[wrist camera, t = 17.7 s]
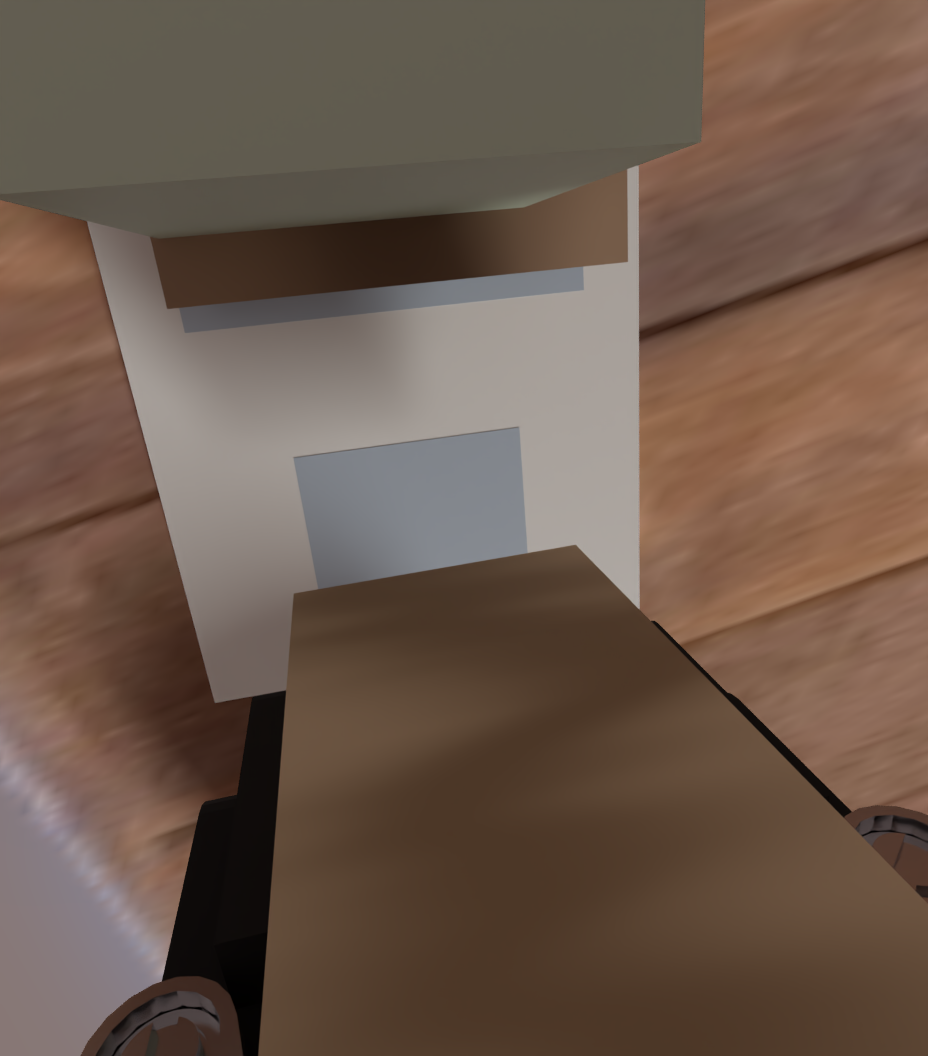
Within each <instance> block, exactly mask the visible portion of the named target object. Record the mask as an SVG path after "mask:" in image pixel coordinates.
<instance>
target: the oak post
mask: <svg viewBox="0 0 928 1056" xmlns="http://www.w3.org/2000/svg"><path fill="white" fill-rule="evenodd" d="M258 1056H928V903H927V902H926V901H925V900H924V899H923V898H922V897H921V896H920V895H919V894H918V893H917V892H916V891H915V890H914V889H913V888H912V887H911V886H910V885H909V884H908V883H907V882H906V881H905V880H904V879H903V878H902V877H901V876H900V875H899V874H898V873H897V872H896V871H895V870H894V869H893V868H892V867H891V866H890V865H889V864H888V863H887V862H886V861H885V860H884V859H883V858H882V857H881V855H880V854H879V853H878V852H877V851H876V850H875V849H874V848H873V847H872V846H871V845H870V844H869V843H868V842H867V841H866V840H865V839H864V838H863V837H862V836H861V835H860V834H859V833H858V832H857V831H856V830H855V829H854V828H853V827H852V826H851V825H850V824H849V823H848V822H847V821H846V820H845V819H844V818H843V817H842V816H841V815H840V814H839V813H838V812H837V811H836V810H835V809H834V808H833V807H832V806H831V804H830V803H829V802H828V801H827V800H826V799H825V798H824V797H823V796H822V795H821V794H820V793H819V792H818V791H817V790H816V789H815V788H814V787H813V786H812V785H811V784H810V783H809V782H808V781H807V780H806V779H805V778H804V777H803V776H802V775H801V774H800V773H799V772H798V771H797V770H796V769H795V768H794V767H793V766H792V765H791V764H790V763H789V762H788V761H787V760H786V759H785V758H784V757H783V756H782V755H781V753H780V752H779V751H778V750H777V749H776V748H775V747H774V746H773V745H772V744H771V743H770V742H769V741H768V740H767V739H766V738H765V737H764V736H763V735H762V734H761V733H760V732H759V731H758V730H757V729H756V728H755V727H754V726H753V725H752V724H751V723H750V722H749V721H748V720H747V719H746V718H745V717H744V716H743V715H742V714H741V713H740V712H739V711H738V710H737V709H736V708H735V707H734V706H733V705H732V704H731V702H730V701H729V700H728V699H727V698H726V697H725V696H724V695H723V694H722V693H721V692H720V691H719V690H718V689H717V688H716V687H715V686H714V685H713V684H712V683H711V682H710V681H709V680H708V679H707V678H706V677H705V676H704V675H703V674H702V673H701V672H700V671H699V670H698V669H697V668H696V667H695V666H694V665H693V664H692V663H691V662H690V661H689V660H688V659H687V658H686V657H685V656H684V655H683V654H682V653H681V651H680V650H679V649H678V648H677V647H676V646H675V645H674V644H673V643H672V642H671V641H670V640H669V639H668V638H667V637H666V636H665V635H664V634H663V633H662V632H661V631H660V630H659V629H658V628H657V627H656V626H655V625H654V624H653V623H652V622H651V621H650V620H649V619H648V618H647V617H646V616H645V615H644V614H643V613H642V612H641V611H640V610H639V609H638V608H637V607H636V606H635V605H634V604H633V603H632V602H631V601H630V599H629V598H628V597H627V596H626V595H625V594H624V593H623V592H622V591H621V590H620V589H619V588H618V587H617V586H616V585H615V584H614V583H613V582H612V581H611V580H610V579H609V578H608V577H607V576H606V575H605V574H604V573H603V572H602V571H601V570H600V569H599V568H598V567H597V566H596V565H595V564H594V563H593V562H592V561H591V560H590V559H589V558H588V557H587V556H586V555H585V554H584V553H583V552H582V551H581V550H580V548H579V547H578V546H577V545H571V546H565V547H560V548H554V549H548V550H542V551H536V552H531V553H525V554H519V555H513V556H507V557H502V558H496V559H490V560H484V561H479V562H473V563H467V564H461V565H455V566H450V567H444V568H438V569H432V570H426V571H421V572H415V573H409V574H403V575H398V576H392V577H386V578H380V579H374V580H369V581H363V582H357V583H351V584H346V585H340V586H334V587H328V588H322V589H317V590H311V591H305V592H299V593H294V596H293V609H292V622H291V635H290V648H289V661H288V674H287V687H286V700H285V713H284V726H283V739H282V752H281V765H280V778H279V791H278V805H277V818H276V831H275V844H274V857H273V870H272V883H271V896H270V909H269V922H268V935H267V948H266V961H265V974H264V987H263V1000H262V1013H261V1027H260V1040H259V1053H258Z"/></svg>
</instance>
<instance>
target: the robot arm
mask: <svg viewBox="0 0 928 1056" xmlns="http://www.w3.org/2000/svg"><path fill="white" fill-rule="evenodd" d="M651 622H652V623H653V624H654V625H655V626H656V627H657V628H658V629H659V630H660V631H661V632H662V633H663V634H664V635H665V636H666V637H667V638H668V639H669V640H670V641H671V642H672V643H673V644H674V645H675V646H676V647H677V648H678V649H679V650H680V651H681V653H682V654H683V655H684V656H685V657H686V658H687V659H688V660H689V661H690V662H691V663H692V664H693V665H694V666H695V667H696V668H697V669H698V670H699V671H700V672H701V673H702V674H703V675H704V676H705V677H706V678H707V679H708V680H709V681H710V682H711V683H712V684H713V685H714V686H715V687H716V688H717V689H718V690H719V691H720V692H721V693H722V694H723V695H724V696H725V697H726V698H727V699H728V700H729V701H730V702H731V704H732V705H733V706H734V707H735V708H736V709H737V710H738V711H739V712H740V713H741V714H742V715H743V716H744V717H745V718H746V719H747V720H748V721H749V722H750V723H751V724H752V725H753V726H754V727H755V728H756V729H757V730H758V731H759V732H760V733H761V734H762V735H763V736H764V737H765V738H766V739H767V740H768V741H769V742H770V743H771V744H772V745H773V746H774V747H775V748H776V749H777V750H778V751H779V752H780V753H781V755H782V756H783V757H784V758H785V759H786V760H787V761H788V762H789V763H790V764H791V765H792V766H793V767H794V768H795V769H796V770H797V771H798V772H799V773H800V774H801V775H802V776H803V777H804V778H805V779H806V780H807V781H808V782H809V783H810V784H811V785H812V786H813V787H814V788H815V789H816V790H817V791H818V792H819V793H820V794H821V795H822V796H823V797H824V798H825V799H826V800H827V801H828V802H829V803H830V804H831V806H832V807H833V808H834V809H835V810H836V811H837V812H838V813H839V814H840V815H841V816H842V817H843V818H844V819H845V820H846V821H847V822H848V823H849V824H850V825H851V826H852V827H853V828H854V829H855V830H856V831H857V832H858V833H859V834H860V835H861V836H862V837H863V838H864V839H865V840H866V841H867V842H868V843H869V844H870V845H871V846H872V847H873V848H874V849H875V850H876V851H877V852H878V853H879V854H880V855H881V857H882V858H883V859H884V860H885V861H886V862H887V863H888V864H889V865H890V866H891V867H892V868H893V869H894V870H895V871H896V872H897V873H898V874H899V875H900V876H901V877H902V878H903V879H904V880H905V881H906V882H907V883H908V884H909V885H910V886H911V887H912V888H913V889H914V890H915V891H916V892H917V893H918V894H919V895H920V896H921V897H922V898H923V899H924V900H925V901H926V902H927V903H928V815H926V814H923V813H921V812H917V811H913V810H909V809H905V808H901V807H897V806H880V805H875V806H870V807H864V808H859V809H857V810H855V811H853V812H852V811H851V810H850V809H849V808H848V807H847V806H846V805H845V804H844V803H843V802H842V801H841V800H840V799H839V798H837V797H836V796H835V795H834V794H833V793H832V792H831V791H830V790H829V789H828V788H827V787H826V786H825V785H824V784H823V783H822V782H821V781H820V780H819V779H818V778H817V777H816V776H815V775H814V774H813V773H812V772H811V771H810V770H809V769H808V768H807V767H806V766H805V765H804V764H803V763H802V762H801V761H800V760H799V759H798V758H797V757H796V756H795V755H794V754H793V753H792V752H791V751H790V750H789V749H788V748H787V747H786V746H785V745H784V744H783V743H782V742H781V741H780V740H779V739H778V738H777V737H776V736H775V735H774V734H773V733H772V732H771V731H770V730H769V729H768V728H767V727H766V726H765V725H764V724H763V723H762V722H761V721H760V720H759V719H758V718H757V717H756V716H755V715H754V714H753V713H752V712H751V711H750V710H749V709H748V708H747V707H746V706H745V705H744V704H743V703H742V702H741V701H740V700H739V699H738V698H736V697H735V696H734V695H732V694H730V693H727V692H726V691H725V690H724V689H723V688H722V687H721V686H720V685H719V684H718V683H717V682H716V681H715V680H714V679H713V678H712V677H711V676H710V675H709V674H708V673H707V672H706V671H705V670H704V669H703V668H702V667H701V666H700V665H699V664H698V663H697V662H696V661H695V660H694V659H693V658H692V657H691V656H690V655H689V654H688V653H687V652H686V651H685V650H684V649H683V648H682V647H681V646H680V645H679V644H678V643H677V642H676V641H675V640H674V639H673V638H672V637H671V636H670V635H669V634H668V633H667V632H666V631H665V630H664V629H663V628H662V627H661V626H660V625H659V624H658V623H657V622H655V621H651ZM285 700H286V690H284V691H279V692H274V693H269V694H263V695H258V696H254V697H253V698H252V702H251V709H250V715H249V722H248V728H247V735H246V741H245V748H244V754H243V761H242V767H241V773H240V780H239V786H238V793H237V795H234V796H230V797H225V798H220V799H215V800H211V801H206V802H205V803H204V804H203V805H202V807H201V810H200V813H199V816H198V821H197V825H196V830H195V834H194V839H193V843H192V848H191V852H190V857H189V861H188V866H187V870H186V875H185V880H184V884H183V889H182V893H181V898H180V902H179V907H178V911H177V916H176V920H175V925H174V929H173V934H172V938H171V943H170V947H169V952H168V956H167V961H166V965H165V970H164V975H163V979H162V982H159V983H156V984H153V985H151V986H150V987H148V988H146V989H145V990H143V991H141V992H139V993H138V994H136V995H134V996H132V997H131V998H129V999H128V1000H127V1001H126V1002H124V1003H123V1005H121V1006H120V1007H119V1008H117V1009H116V1010H115V1011H114V1012H113V1013H112V1014H110V1015H109V1016H108V1017H107V1018H106V1020H105V1021H104V1022H103V1023H102V1025H101V1026H100V1027H99V1028H98V1029H97V1031H96V1032H95V1033H94V1035H93V1036H92V1037H91V1038H90V1039H89V1041H88V1042H87V1044H86V1046H85V1048H84V1050H83V1052H82V1054H81V1056H258V1053H259V1040H260V1027H261V1013H262V1000H263V987H264V974H265V961H266V948H267V935H268V922H269V909H270V896H271V883H272V870H273V857H274V844H275V831H276V818H277V805H278V791H279V778H280V765H281V752H282V739H283V726H284V713H285Z"/></svg>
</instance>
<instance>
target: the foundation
mask: <svg viewBox="0 0 928 1056" xmlns="http://www.w3.org/2000/svg"><path fill="white" fill-rule="evenodd" d="M150 239H151V243H152V247H153V251H154V256H155V260H156V264H157V268H158V273H159V277H160V281H161V285H162V289H163V294H164V298H165V302H166V306H167V309H174V308H184V307H193V306H203V305H213V304H223V303H232V302H242V301H252V300H262V299H271V298H281V297H291V296H301V295H311V294H320V293H330V292H340V291H350V290H359V289H369V288H379V287H389V286H399V285H408V284H418V283H428V282H438V281H447V280H457V279H467V278H477V277H486V276H496V275H506V274H516V273H526V272H535V271H545V270H555V269H565V268H574V267H584V266H594V265H604V264H614V263H623V262H628V199H627V169H626V170H624V171H621V172H618V173H615V174H613V175H610V176H607V177H605V178H602V179H599V180H597V181H594V182H591V183H588V184H586V185H583V186H580V187H578V188H575V189H572V190H570V191H567V192H564V193H561V194H559V195H556V196H553V197H551V198H548V199H545V200H542V201H540V202H537V203H534V204H532V205H529V206H526V207H522V208H511V209H499V210H487V211H476V212H464V213H453V214H441V215H429V216H418V217H406V218H394V219H383V220H371V221H360V222H348V223H336V224H325V225H313V226H301V227H290V228H278V229H266V230H255V231H243V232H232V233H220V234H208V235H197V236H185V237H173V238H162V239H158V238H154V237H150Z"/></svg>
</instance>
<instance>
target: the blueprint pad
mask: <svg viewBox="0 0 928 1056" xmlns="http://www.w3.org/2000/svg"><path fill="white" fill-rule="evenodd" d="M627 199H628V262H623V263H614V264H604V265H594V266H584V267H574V268H565V269H555V270H545V271H535V272H526V273H516V274H506V275H496V276H486V277H477V278H467V279H457V280H447V281H438V282H428V283H418V284H408V285H399V286H389V287H379V288H369V289H359V290H350V291H340V292H330V293H320V294H311V295H301V296H291V297H281V298H271V299H262V300H252V301H242V302H232V303H223V304H213V305H203V306H193V307H184V308H174V309H167V306H166V302H165V298H164V294H163V289H162V285H161V281H160V277H159V273H158V268H157V264H156V260H155V256H154V251H153V247H152V243H151V239H150V237H149V236H145V235H141V234H137V233H133V232H129V231H125V230H121V229H117V228H113V227H109V226H105V225H101V224H97V223H93V222H88V221H87V224H88V228H89V232H90V235H91V239H92V243H93V247H94V250H95V254H96V258H97V262H98V266H99V269H100V273H101V277H102V281H103V284H104V288H105V292H106V296H107V299H108V303H109V307H110V311H111V314H112V318H113V322H114V326H115V329H116V333H117V337H118V341H119V345H120V348H121V352H122V356H123V360H124V363H125V367H126V371H127V375H128V378H129V382H130V386H131V390H132V393H133V397H134V401H135V405H136V408H137V412H138V416H139V420H140V424H141V427H142V431H143V435H144V439H145V442H146V446H147V450H148V454H149V457H150V461H151V465H152V469H153V472H154V476H155V480H156V484H157V488H158V491H159V495H160V499H161V503H162V506H163V510H164V514H165V518H166V521H167V525H168V529H169V533H170V536H171V540H172V544H173V548H174V551H175V555H176V559H177V563H178V567H179V570H180V574H181V578H182V582H183V585H184V589H185V593H186V597H187V600H188V604H189V608H190V612H191V615H192V619H193V623H194V627H195V630H196V634H197V638H198V642H199V646H200V649H201V653H202V657H203V661H204V664H205V668H206V672H207V676H208V679H209V683H210V687H211V691H212V694H213V698H214V702H215V703H218V702H224V701H229V700H235V699H240V698H246V697H251V696H256V695H262V694H267V693H273V692H278V691H284V690H286V687H287V674H288V661H289V648H290V635H291V622H292V609H293V596H294V593H299V592H305V591H311V590H317V589H322V588H328V587H334V586H340V585H346V584H351V583H357V582H363V581H369V580H374V579H380V578H386V577H392V576H398V575H403V574H409V573H415V572H421V571H426V570H432V569H438V568H444V567H450V566H455V565H461V564H467V563H473V562H479V561H484V560H490V559H496V558H502V557H507V556H513V555H519V554H525V553H531V552H536V551H542V550H548V549H554V548H560V547H565V546H571V545H577V546H578V547H579V548H580V550H581V551H582V552H583V553H584V554H585V555H586V556H587V557H588V558H589V559H590V560H591V561H592V562H593V563H594V564H595V565H596V566H597V567H598V568H599V569H600V570H601V571H602V572H603V573H604V574H605V575H606V576H607V577H608V578H609V579H610V580H611V581H612V582H613V583H614V584H615V585H616V586H617V587H618V588H619V589H620V590H621V591H622V592H623V593H624V594H625V595H626V596H627V597H628V598H629V599H630V601H631V602H632V603H633V604H634V605H635V606H636V607H637V608H638V609H639V167H638V165H637V166H634V167H632V168H629V169H627Z"/></svg>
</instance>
